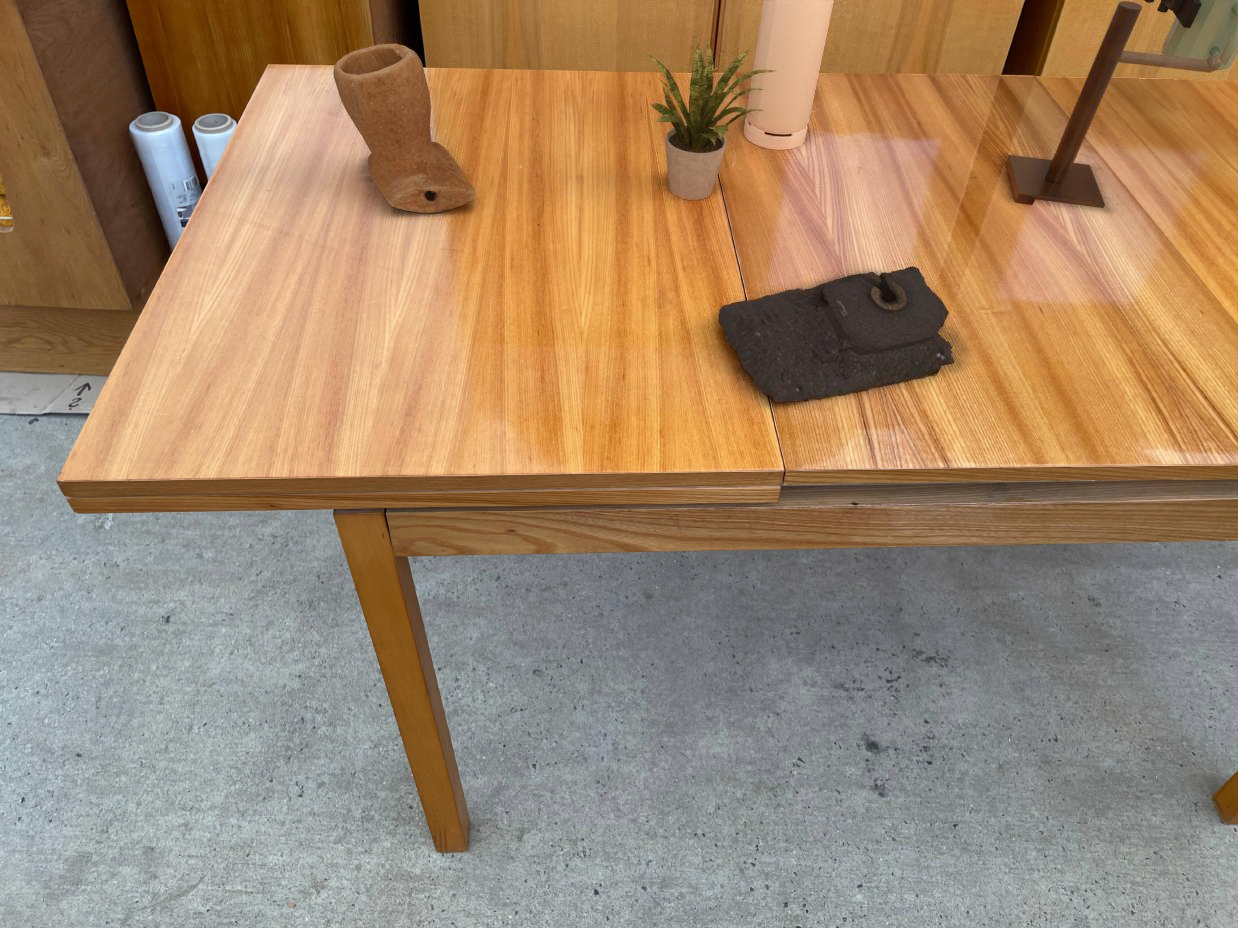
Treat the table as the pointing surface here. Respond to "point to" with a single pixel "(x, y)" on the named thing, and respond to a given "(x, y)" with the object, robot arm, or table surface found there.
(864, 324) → the dark brown flat slab
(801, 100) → the bottle
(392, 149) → the brown clay vessel
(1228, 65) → the mug
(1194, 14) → the robot arm
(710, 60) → the house plant
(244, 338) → the table surface
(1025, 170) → the mug stand
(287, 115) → the table surface
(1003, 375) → the table surface
